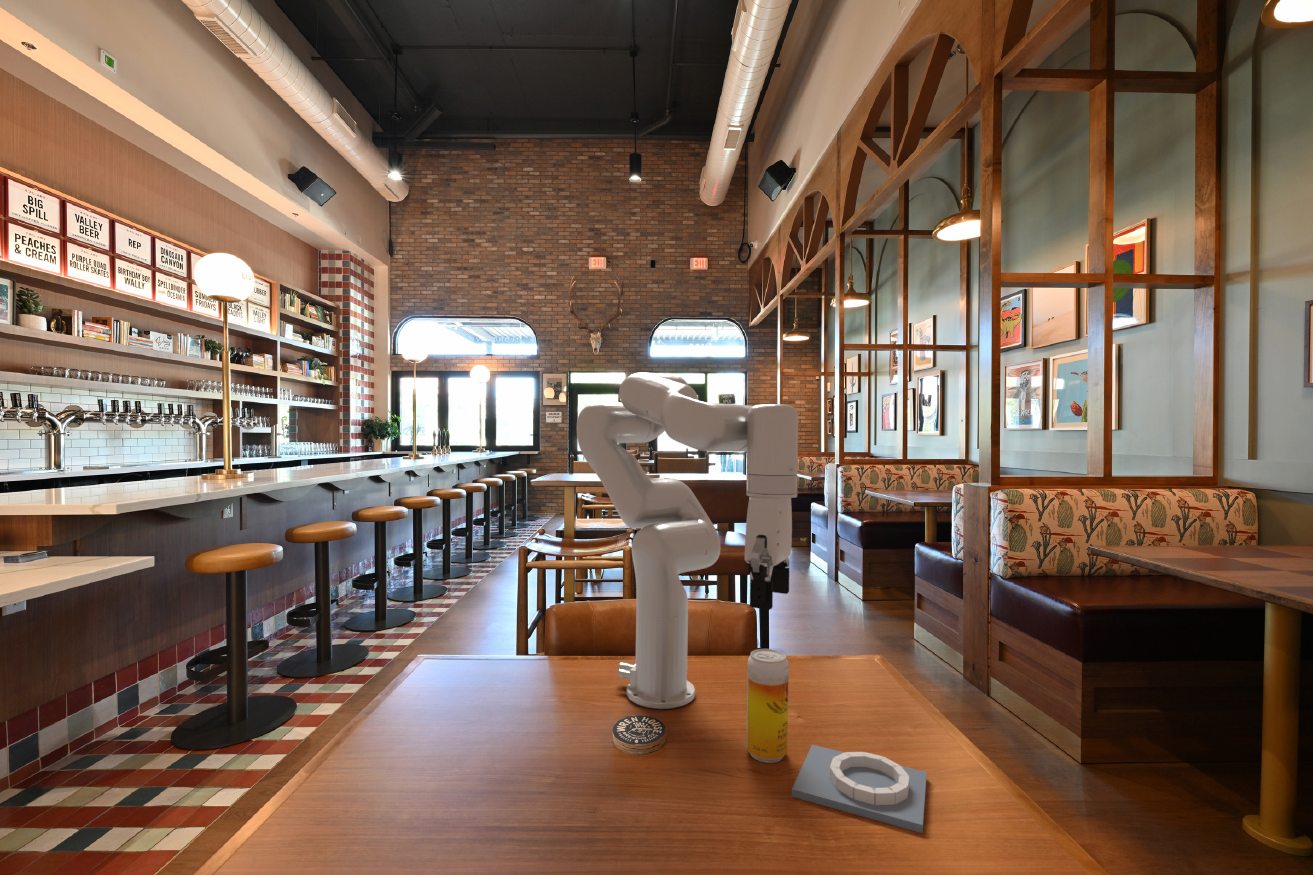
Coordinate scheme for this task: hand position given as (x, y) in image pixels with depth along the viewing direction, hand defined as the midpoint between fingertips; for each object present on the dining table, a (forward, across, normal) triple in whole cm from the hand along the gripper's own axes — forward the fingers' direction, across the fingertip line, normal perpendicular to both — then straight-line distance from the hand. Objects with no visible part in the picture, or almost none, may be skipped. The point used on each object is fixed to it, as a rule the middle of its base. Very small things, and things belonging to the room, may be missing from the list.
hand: (770, 599), depth 91 cm
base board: (+24, +2, +14) cm, 27 cm away
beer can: (+24, 0, 0) cm, 24 cm away
